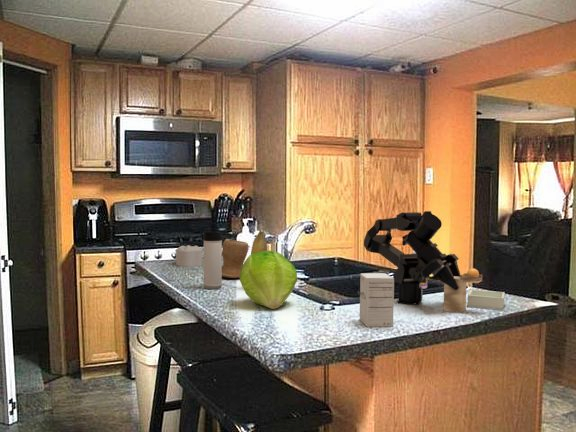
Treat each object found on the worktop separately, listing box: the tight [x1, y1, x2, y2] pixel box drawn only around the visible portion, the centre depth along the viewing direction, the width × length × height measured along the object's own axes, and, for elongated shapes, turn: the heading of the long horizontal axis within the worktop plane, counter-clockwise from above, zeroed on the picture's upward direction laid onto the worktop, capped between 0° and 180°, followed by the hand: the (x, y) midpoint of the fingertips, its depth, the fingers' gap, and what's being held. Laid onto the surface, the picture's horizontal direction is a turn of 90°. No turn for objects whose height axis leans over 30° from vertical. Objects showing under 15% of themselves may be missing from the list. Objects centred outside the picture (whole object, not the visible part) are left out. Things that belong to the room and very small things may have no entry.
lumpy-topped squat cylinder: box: [175, 244, 203, 268], centre depth 240 cm, size 10×13×9 cm
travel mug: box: [203, 231, 223, 290], centre depth 184 cm, size 6×7×20 cm
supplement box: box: [359, 272, 395, 328], centre depth 137 cm, size 7×7×13 cm
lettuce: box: [239, 250, 298, 310], centre depth 158 cm, size 17×20×16 cm
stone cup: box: [222, 238, 249, 279], centre depth 207 cm, size 15×12×15 cm
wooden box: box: [443, 272, 483, 314], centre depth 152 cm, size 9×5×11 cm, turn 56°
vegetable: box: [250, 231, 268, 255], centre depth 183 cm, size 6×6×20 cm
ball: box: [466, 267, 480, 277], centre depth 150 cm, size 3×3×3 cm
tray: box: [466, 289, 506, 311], centre depth 160 cm, size 10×10×4 cm
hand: (460, 288), depth 152 cm, fingers open, 5 cm apart
